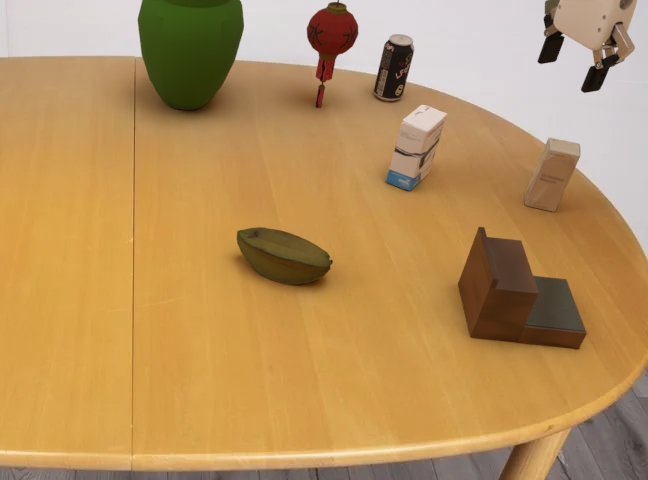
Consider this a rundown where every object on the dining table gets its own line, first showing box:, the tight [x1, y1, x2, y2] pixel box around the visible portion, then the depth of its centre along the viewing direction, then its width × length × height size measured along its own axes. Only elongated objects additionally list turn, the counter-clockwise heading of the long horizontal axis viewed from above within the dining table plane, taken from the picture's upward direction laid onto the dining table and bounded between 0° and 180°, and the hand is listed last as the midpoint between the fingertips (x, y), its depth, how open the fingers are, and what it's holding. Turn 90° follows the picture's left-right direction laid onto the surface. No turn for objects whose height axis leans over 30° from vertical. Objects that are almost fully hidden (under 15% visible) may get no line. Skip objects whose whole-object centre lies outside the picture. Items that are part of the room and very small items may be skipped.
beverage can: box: [373, 33, 415, 102], centre depth 171 cm, size 6×6×12 cm
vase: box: [137, 0, 245, 111], centre depth 162 cm, size 20×20×24 cm
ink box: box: [385, 104, 448, 192], centre depth 149 cm, size 8×5×12 cm, turn 143°
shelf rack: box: [457, 226, 588, 350], centre depth 123 cm, size 15×12×11 cm
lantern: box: [306, 0, 359, 109], centre depth 161 cm, size 10×10×30 cm
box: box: [524, 137, 581, 213], centre depth 145 cm, size 5×4×11 cm
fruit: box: [236, 226, 334, 286], centre depth 130 cm, size 11×12×7 cm
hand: (567, 76), depth 132 cm, fingers open, 9 cm apart
